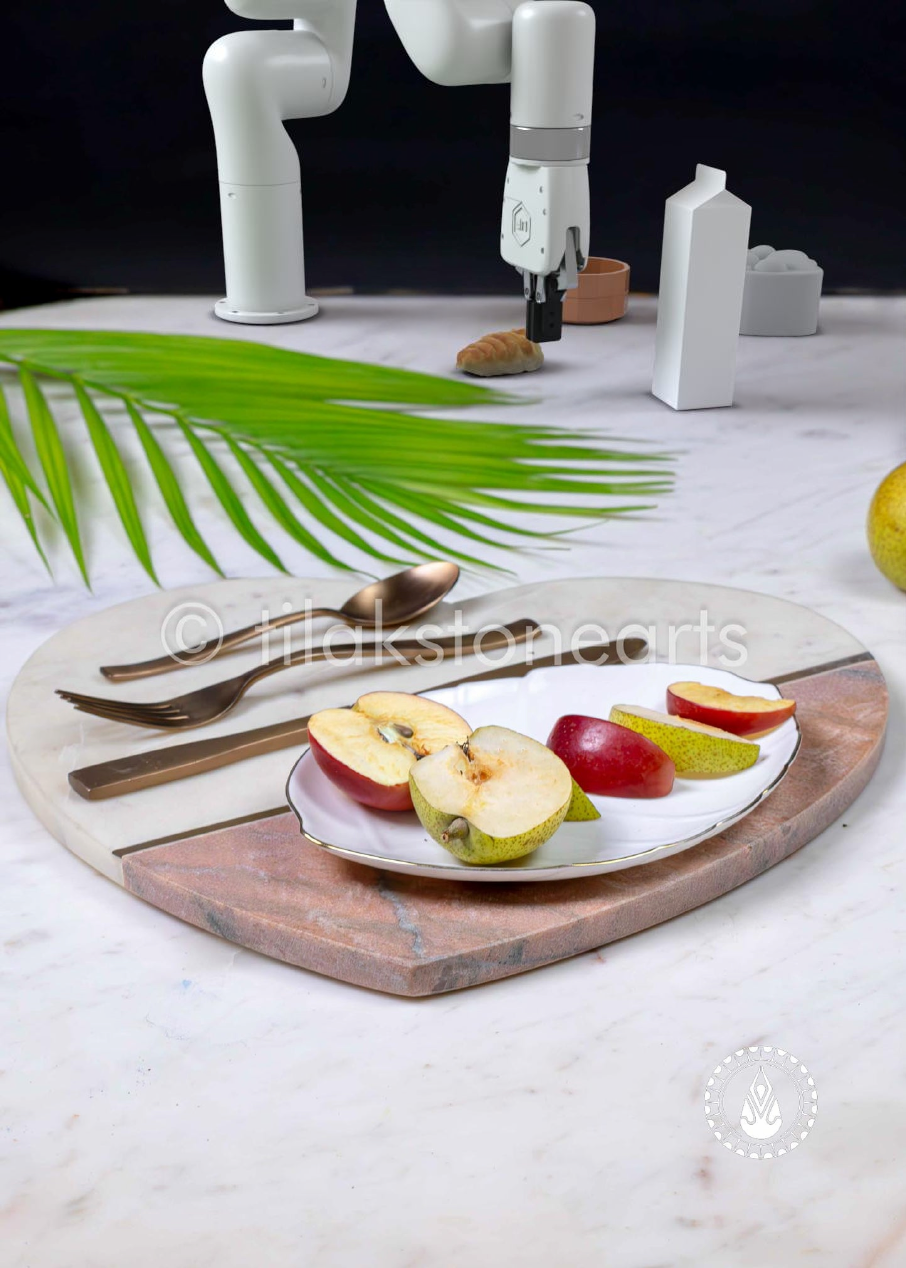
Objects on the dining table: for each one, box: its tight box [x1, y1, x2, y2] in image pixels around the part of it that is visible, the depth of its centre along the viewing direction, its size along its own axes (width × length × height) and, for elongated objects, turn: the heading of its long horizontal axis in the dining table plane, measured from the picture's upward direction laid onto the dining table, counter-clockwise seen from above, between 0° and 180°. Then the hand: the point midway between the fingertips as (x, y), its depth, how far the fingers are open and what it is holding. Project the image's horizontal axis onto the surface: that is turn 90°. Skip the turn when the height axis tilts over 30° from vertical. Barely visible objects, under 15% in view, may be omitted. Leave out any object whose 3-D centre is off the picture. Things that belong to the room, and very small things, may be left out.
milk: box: [651, 163, 752, 411], centre depth 130 cm, size 6×6×22 cm
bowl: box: [558, 256, 631, 325], centre depth 166 cm, size 11×11×6 cm
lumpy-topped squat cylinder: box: [739, 244, 824, 337], centre depth 161 cm, size 10×13×9 cm
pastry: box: [455, 327, 545, 377], centre depth 144 cm, size 9×7×4 cm
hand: (543, 340), depth 135 cm, fingers closed
